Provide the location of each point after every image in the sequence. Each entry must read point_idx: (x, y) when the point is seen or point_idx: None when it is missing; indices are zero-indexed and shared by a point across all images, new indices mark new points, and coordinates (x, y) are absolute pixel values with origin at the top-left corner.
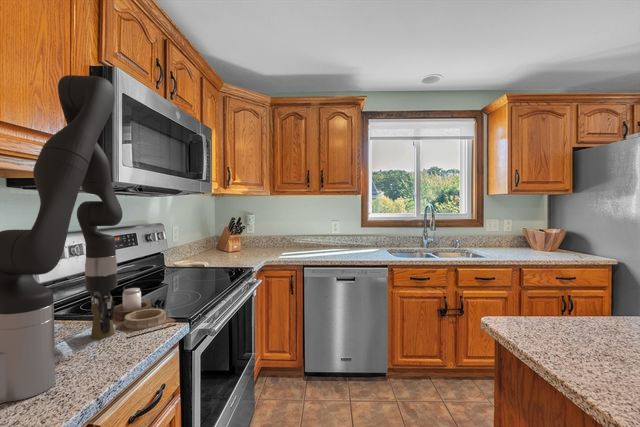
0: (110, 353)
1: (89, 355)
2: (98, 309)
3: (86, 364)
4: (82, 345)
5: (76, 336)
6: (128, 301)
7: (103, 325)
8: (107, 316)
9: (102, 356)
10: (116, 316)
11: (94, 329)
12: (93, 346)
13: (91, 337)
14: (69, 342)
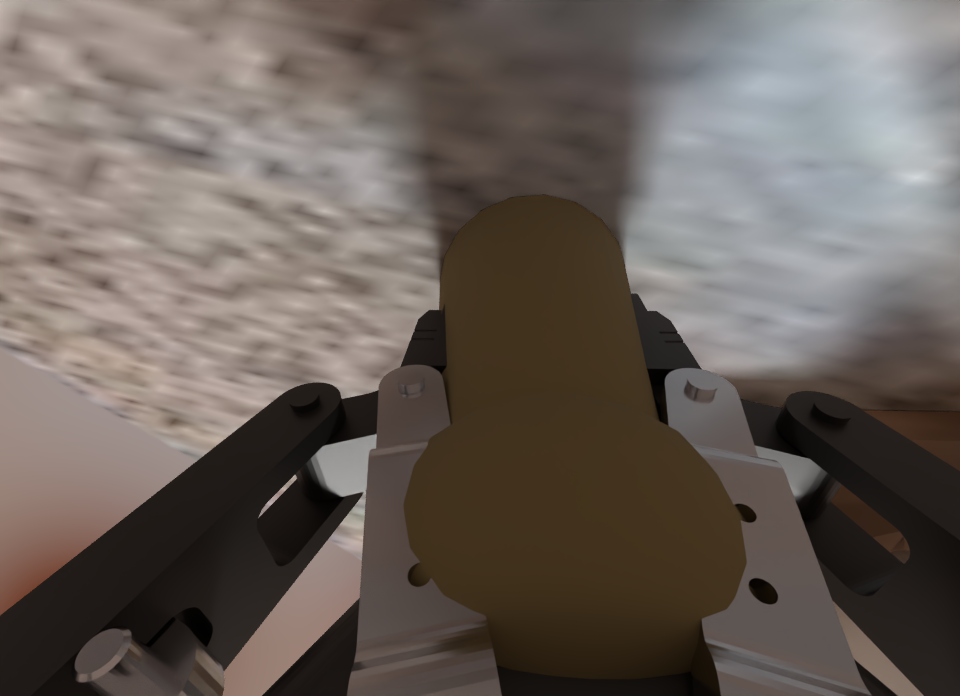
0: (204, 257)
1: (239, 120)
2: (367, 522)
3: (29, 49)
4: (548, 125)
5: (885, 133)
6: (885, 673)
7: (405, 365)
8: (307, 478)
9: (166, 199)
10: (852, 493)
11: (491, 275)
12: (443, 198)
13: (529, 220)
14: (770, 26)
